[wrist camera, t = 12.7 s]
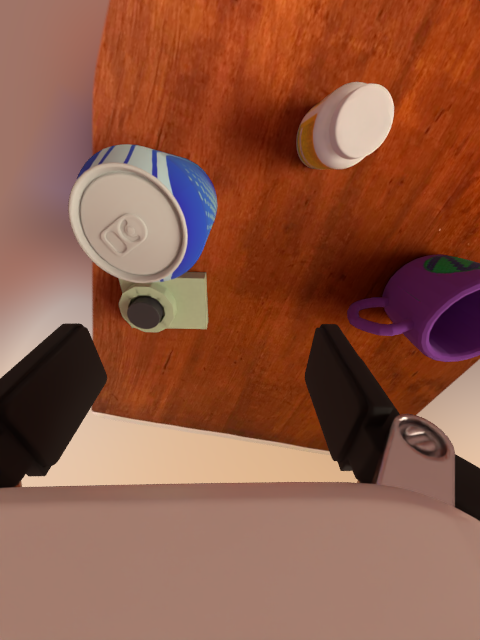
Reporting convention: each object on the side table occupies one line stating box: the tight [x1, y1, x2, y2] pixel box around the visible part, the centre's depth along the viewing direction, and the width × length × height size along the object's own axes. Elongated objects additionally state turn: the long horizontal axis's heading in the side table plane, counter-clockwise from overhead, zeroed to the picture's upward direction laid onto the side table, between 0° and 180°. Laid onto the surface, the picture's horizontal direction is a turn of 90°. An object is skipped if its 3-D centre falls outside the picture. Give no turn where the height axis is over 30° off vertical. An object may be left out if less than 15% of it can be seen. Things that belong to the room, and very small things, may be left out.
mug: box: [347, 255, 480, 362], centre depth 30 cm, size 17×11×10 cm, turn 101°
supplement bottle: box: [296, 82, 394, 169], centre depth 20 cm, size 5×5×10 cm
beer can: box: [68, 144, 217, 283], centre depth 20 cm, size 8×8×16 cm
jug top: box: [119, 272, 208, 332], centre depth 32 cm, size 11×8×4 cm
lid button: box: [127, 296, 163, 329], centre depth 30 cm, size 4×4×2 cm
